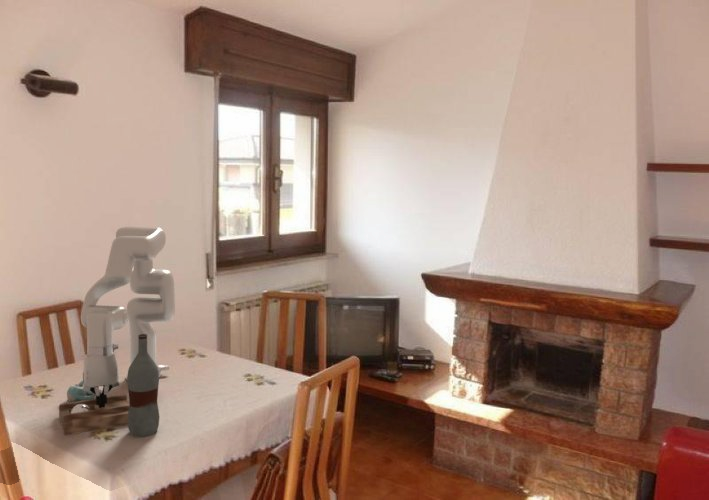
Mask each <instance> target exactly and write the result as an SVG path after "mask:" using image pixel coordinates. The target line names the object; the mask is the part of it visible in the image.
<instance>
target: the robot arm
mask: <svg viewBox="0 0 709 500" xmlns="http://www.w3.org/2000/svg"><path fill="white" fill-rule="evenodd" d="M166 237H167V235H166V233H165V231H164V229H162V228H161V227H153V226H152V227H150V226H149V227H147V226H125V227H122V226H121V227H120V228H118V229H117V230H116V232H115V238H114V240H112V242H111V247H110V250H109V251H110V252H109V255H108V260H107V264H106V268H105V272H104V273H105V274H104V275H103V276H102V277H101V278H100V279H99V280H97V281H96V282H95V283H94V284H93V285H92V286H91V287H90V288H89V290H88V291H87V293H86V294H85V296H84V300H83V304H82V308H81V311H80V312H81V313H80V322H81V325H82V326H83V327H84V328H86V340H87V341H86V342H87V345H86V347H87V349H86V350H87V351H86V352H87V353H86V354H84V357H83V363H82V364H83V365H82V381H83V383H84V384H83V391H91V392H92V393H94V394H95V395H94V396H96V405H98V406H99V408H101V407H105V404H107V397H108V394H109V392H110V391H111V390H112V389H114V388H116V387H119V386H120V382H119V379H120V378H119V377H120V376H119V364H118V358H117V354H116V352H115V350H118V349H119V344H115V343H114V331H115V330H120V329H122V328H124V327H125V326H126V325H127V324H128V325H129V326H128V327H129V360H130V361H129V362H130V363H129V366H130V365H131V364H132V362H133V361H134V359H135V357H136V356H137V354H138V341H139V337H138V335H140V334H147V352H148V354H149V355H150V356H151V358H152V359H153V361H154V362H155V363H156V365H157V367H158V372H159V378H161V372H163V371H164V372H165V371H170V366H169V365H167V364H166V365H164V364H161V365H158V363H157V333H156V329H155V327H154V325H153V324H152V323H168V322H171V321H172V320H173V319H174V317H175V313H176V303H175V302H176V300H175V298H176V297H175V295H176V294H175V280H174V275H173V273H172V272H171V271H170V270H167V269H155V268H154V262H153V261H154V259H155V257H157V255H159V253H161V252H162V250H163V249H164V247H165V245H166V239H167V238H166ZM128 284H129V285H130V286H129V288H130V290H131V292H132V293H134V294H138V295H158V296H136V297H132V298H131V299H129V300H128V302H127V303H126V308H125V307H124V306H122V305H121V306H119V305H100V304H99V305H97V304H98V301H99V300H100V299H101V298H102V297H103V296H104V295H106V294H107V293H109V292H111V291H113V290H116V289H119V288H121V287H123V286H126V285H128ZM127 376H128V373H127V374H126V375H125V379H126V380H127ZM99 387H102V390H101V393H100V391H99V390H100V388H99Z"/></svg>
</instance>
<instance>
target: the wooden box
mask: <svg viewBox="0 0 709 500" xmlns="http://www.w3.org/2000/svg"><path fill="white" fill-rule="evenodd" d="M127 396H128V395H127V394H119V395H111V396H107V404H105V407H101V408H99V406H98V405H96V399H91V400H84V401H78V402H65V403H59V406H58V415H59V416H58V417H59V421H60V424H61V428H62V431H63V434H64V436H68V435H74V434H79V433H85V432H91V431H96V430H102V429H107V428H114V427H120V426H125V425H128V412H129V405H130V404H129V401H128V400H129V399H128V397H127ZM78 404H85V405H87V406H89V407H90V409H91V411H85V412H79V413H72V414H70V413H71V410H72V409H73V407H75V406H76V405H78Z"/></svg>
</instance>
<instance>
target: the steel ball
mask: <svg viewBox="0 0 709 500" xmlns="http://www.w3.org/2000/svg"><path fill="white" fill-rule="evenodd" d="M85 411H91V409H90V407H89V406H87V405H85V404H78V405H76V406H75V407H73V409H72V410H71V413H70V414H72V413H79V412H85Z"/></svg>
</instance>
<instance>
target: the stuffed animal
mask: <svg viewBox="0 0 709 500" xmlns="http://www.w3.org/2000/svg"><path fill="white" fill-rule="evenodd" d="M83 384H84V383H83V380H81V381H80V382H79V383H78V384H73V385H70V386H69V388H68V389H67V392H66V398H67V400H68V401H69V403H71V402H78V401H84V400H91V399H96V395H95V394H94V393H92V392H91V391H83ZM99 391H100V393H102V389H99Z"/></svg>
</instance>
